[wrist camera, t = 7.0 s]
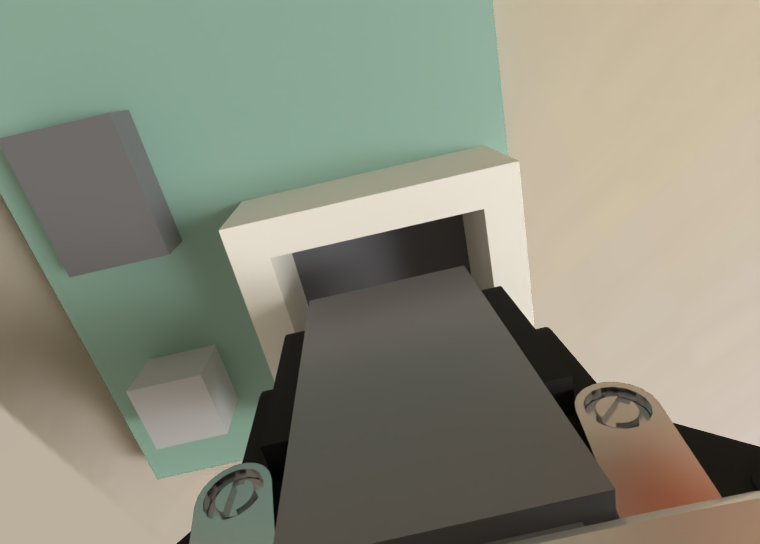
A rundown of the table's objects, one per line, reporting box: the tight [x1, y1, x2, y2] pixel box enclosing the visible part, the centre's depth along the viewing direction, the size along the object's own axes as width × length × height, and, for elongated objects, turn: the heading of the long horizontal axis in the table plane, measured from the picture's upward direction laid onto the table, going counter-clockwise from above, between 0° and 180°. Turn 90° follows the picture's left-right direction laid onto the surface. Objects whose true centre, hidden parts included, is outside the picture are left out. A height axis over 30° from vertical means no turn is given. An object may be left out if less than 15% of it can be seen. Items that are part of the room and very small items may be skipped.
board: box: [0, 0, 535, 479], centre depth 13 cm, size 20×15×5 cm
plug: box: [273, 265, 616, 544], centre depth 9 cm, size 4×4×7 cm
